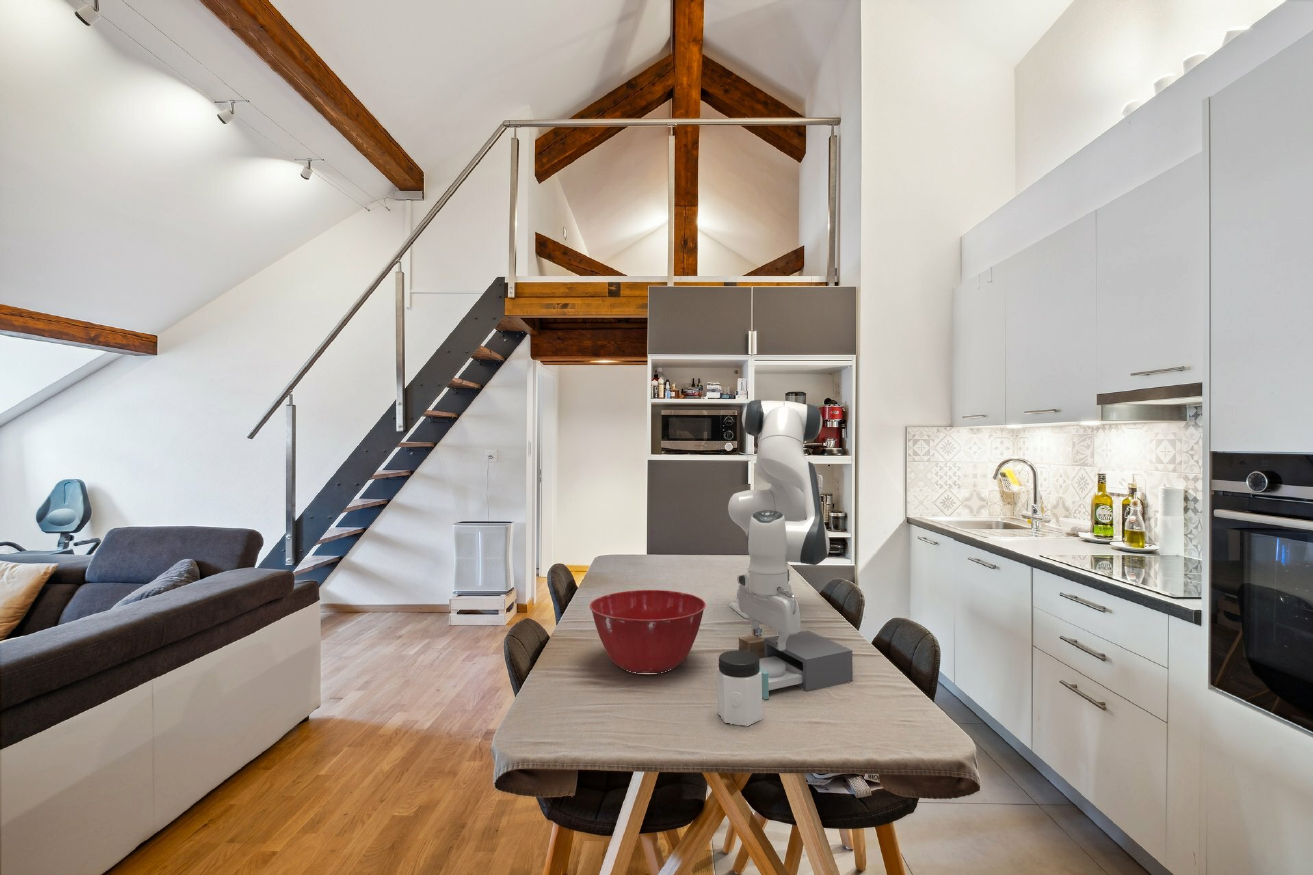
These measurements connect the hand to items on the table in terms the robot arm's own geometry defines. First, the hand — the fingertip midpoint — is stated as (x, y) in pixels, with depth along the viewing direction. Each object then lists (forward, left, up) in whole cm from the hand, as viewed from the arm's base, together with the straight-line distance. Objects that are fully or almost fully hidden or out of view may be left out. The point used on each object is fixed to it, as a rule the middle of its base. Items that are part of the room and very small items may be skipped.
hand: (768, 642), depth 143 cm
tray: (+1, -1, -9) cm, 9 cm away
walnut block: (-13, +4, -9) cm, 16 cm away
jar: (+13, -16, -9) cm, 22 cm away
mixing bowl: (-21, -21, -9) cm, 31 cm away
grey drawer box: (+1, +10, -9) cm, 13 cm away
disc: (+1, 0, -7) cm, 7 cm away
